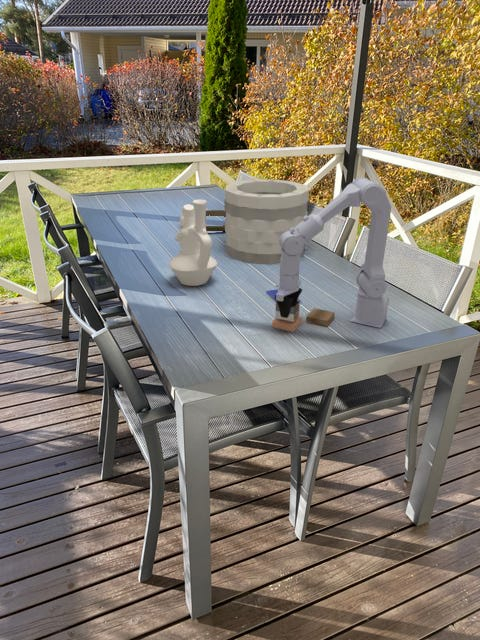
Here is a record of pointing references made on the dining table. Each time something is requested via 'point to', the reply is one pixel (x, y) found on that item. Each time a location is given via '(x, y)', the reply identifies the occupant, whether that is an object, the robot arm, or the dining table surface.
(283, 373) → the dining table surface
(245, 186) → the storage basket
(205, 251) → the double spout vessel
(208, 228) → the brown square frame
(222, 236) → the dining table surface
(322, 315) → the stand
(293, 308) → the block
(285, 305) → the robot arm
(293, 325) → the stand
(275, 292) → the hard drive
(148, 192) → the dining table surface
